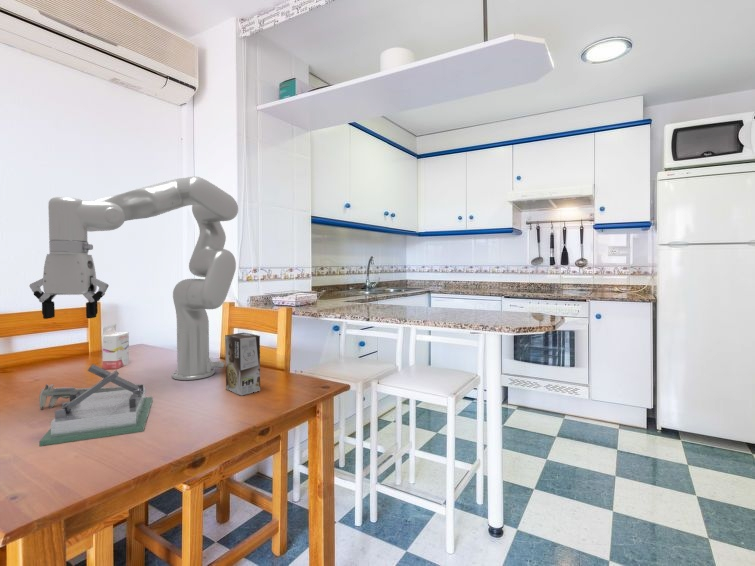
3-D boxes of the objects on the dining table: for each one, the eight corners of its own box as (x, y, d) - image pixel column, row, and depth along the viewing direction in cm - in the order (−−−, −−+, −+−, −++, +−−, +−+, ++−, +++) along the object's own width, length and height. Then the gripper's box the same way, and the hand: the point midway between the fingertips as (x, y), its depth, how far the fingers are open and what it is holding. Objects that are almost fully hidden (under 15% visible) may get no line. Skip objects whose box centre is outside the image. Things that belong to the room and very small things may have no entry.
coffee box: (261, 391, 116) (260, 335, 116) (240, 396, 112) (239, 338, 111) (245, 384, 123) (244, 331, 122) (224, 389, 118) (224, 334, 117)
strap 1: (60, 416, 86) (56, 412, 86) (65, 411, 89) (61, 407, 88) (117, 377, 90) (113, 373, 90) (119, 373, 93) (115, 369, 92)
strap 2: (139, 392, 102) (143, 387, 103) (138, 395, 100) (141, 391, 100) (90, 368, 98) (93, 363, 98) (87, 370, 95) (90, 366, 95)
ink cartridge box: (117, 369, 140) (116, 327, 139) (102, 369, 140) (101, 327, 139) (130, 363, 149) (129, 323, 148) (115, 363, 148) (114, 323, 147)
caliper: (41, 411, 101) (40, 386, 100) (39, 410, 101) (38, 385, 101) (129, 390, 117) (129, 369, 117) (128, 390, 118) (127, 368, 117)
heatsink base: (152, 400, 108) (152, 378, 108) (143, 431, 88) (142, 403, 88) (70, 410, 101) (69, 386, 100) (39, 446, 81) (38, 416, 80)
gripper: (114, 249, 104) (115, 315, 105) (41, 249, 102) (42, 316, 103) (98, 248, 97) (99, 319, 98) (18, 247, 95) (20, 320, 95)
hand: (70, 317), depth 100 cm, fingers open, 9 cm apart
